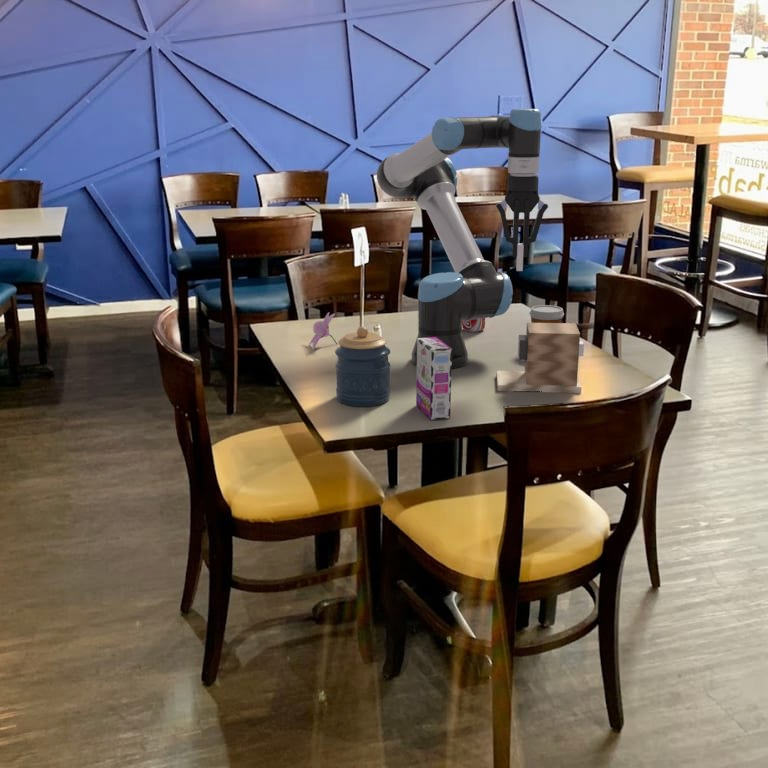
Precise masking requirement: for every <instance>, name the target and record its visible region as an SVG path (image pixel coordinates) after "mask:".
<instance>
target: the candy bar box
mask: <svg viewBox="0 0 768 768" xmlns="http://www.w3.org/2000/svg"><path fill="white" fill-rule="evenodd" d="M416 339H417V365H416V382H415V383H416V387H415V388H416V390H415V391H416V392H415V394H416V401H415V403H416V404H415V405H416V407H417V408H418V409H419V410H420V411H422V412H423V414H424V415H425V416H427V417H428V418H429V420H430V421H439V420H448V419H451V399H452V398H451V396H452V394H451V393H452V369H453V368H452V348H450V347H449V346H447V345H446V344H445V343H443V342H442V341H441V340H439V339H438V338H437V337H426V338H417V337H416Z"/></svg>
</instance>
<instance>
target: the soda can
mask: <svg viewBox="0 0 768 768" xmlns="http://www.w3.org/2000/svg"><path fill="white" fill-rule="evenodd" d="M485 327H486V318H481V319H474V320H466V321H462V330H465V331H466V332H468V331H469V333H479V331H480V332H482V331H483V330H485Z"/></svg>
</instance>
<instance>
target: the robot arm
mask: <svg viewBox="0 0 768 768" xmlns="http://www.w3.org/2000/svg"><path fill="white" fill-rule="evenodd" d="M542 128H543V127H542V113H541V110H539V109H538V108H513V109H511V110H510V112H509V116H503V115H489V116H488V115H487V116H470V117H468V116H466V117H465V116H464V117H463V116H462V117H461V116H459V117H458V116H457V117H455V116H448V117H443V118H439V119H437V120H435V122H434V125H433V126H432V128H431V129H432V130H431V132H430V133H428V134H427V135H426V136H425V137H423V138H421V139H419V140H418V141H416V142H415V143H413V144H412V145H411V146H408V148H405V150H403V151H401V152H396V153H395V152H394V153H392V154H389V156H387V157H386V158H384V159H383V160H382V161H381V162H380V164H379V165H378V167H377V170H376V179H377V180H376V181H377V184H378V186H379V187H380V189H381V190H382V192H384V193H385V195H388V196H390V197H392V198H396V199H415V201H416V203H417V206H418V207H419V208H420V209H421V210H426V213H427V215H428V216H429V219H430V221H431V223H432V225H433V227H434V229H435V231H436V233H437V237H438V238H439V240H440V242H441V245H442V247H443V249H444V252H445V253H446V256H447V258H448V260H449V262H450V264H451V266H452V268H453V271H447V272H437V273H433V274H430V275H427V276H425V277H423V278H422V279H421V280H420V282H419V285H418V293H417V299H418V302H417V303H418V308H417V309H418V315H417V316H418V317H417V319H418V325H417V327H418V329H417V330H418V331H417V332H418V333H417V336H416V340H415V342H414V345H413V348H412V352H411V363H412V364H413V365H415V366H417V338H426V337H437V338H438V339H439V340H441V341H442V342H443V343H445V344H446V345H447V346H449V347H450V348H452V369H456V368H461V367H464V366H466V365H467V364H468V362H469V355H468V349H467V346H466V342H465V341H464V336H463V328H462V321H466V320H474V319H481V318H485V319H486V318H487V319H488V318H494V317H499V316H502V315H503V314H505V313H507V311H508V310H509V308H510V307H511V304H512V301H513V294H514V292H513V291H514V290H513V284H512V281H511V279H510V277H509V275H508V274H507V273H504V272H502V271H499V272H497V271H496V269H495V267H494V265H493V263H492V262H491V261H489V260H485V259H484V257H483V255H482V252H481V250H480V248H479V246H478V244H477V243H476V240H475V237H474V236H473V233H472V232H471V230H470V228H469V225H468V223H467V222H466V220H465V217H464V215H463V213H462V212H461V209H460V207H459V205H458V202H457V201H456V199H455V197H454V196H455V194H456V188H457V186H458V177H457V174H458V173H457V172H458V171H457V170H456V167H455V165H454V163H453V162H452V160H451V159H449V157H451V156H453V155H455V154H457V153H458V152H460V151H461V150H470V149H471V150H472V149H475V150H476V149H491V148H492V149H496V148H503V149H504V148H505V149H508V153H507V154H508V155H507V156H508V157H507V159H508V160H507V164H508V165H507V173H509V175H508V176H507V182H506V184H507V186H506V187H507V188H506V194H505V196H504V199H503V200H501V201H499V202H497V203H496V209H497V211H498V212H499V213H500V218H501V223H502V228H503V232H504V237H505V242H507V243H510V244H512V252H511V255H512V257H513V258H516V265H515V269H516V272H523V269H524V258H528V256H529V255H528V254H529V244H532V243H536V241H537V237H538V234H539V230H540V227H541V223H542V219H543V217H544V213H545V212H546V211H547V209H548V208H549V204H548V203H546V202H544V201H543V200H542V199H541V198H540V195H539V176H538V175H537V174H539V173H540V172H539V171H540V153H541V152H540V151H541V135H542V134H541V133H542ZM506 205H507V206H508V208H510V210H511V211H512V213H513V223H512V236H511V234H510V233H511V232H510V230H509V224H508V219H507V214H506V211H505V210H506V209H507V206H506ZM536 206H537V210H538V211H537V214H536V217H535V220H534V224H533V227H532V231H531V233H530V213H531V212H532V211H534V208H535V207H536ZM522 213H523V232H522V235H523V237H522V242H521V243H520V242H519V229H520V227H519V224H520V214H522ZM530 234H531V235H530ZM529 235H530V237H529Z"/></svg>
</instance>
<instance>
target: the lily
mask: <svg viewBox="0 0 768 768" xmlns="http://www.w3.org/2000/svg"><path fill="white" fill-rule="evenodd" d="M335 315H336V313H332V314H330V311H329V312H327V313H326V315H325V316H324V319H323V321H322V320H318V321H316V322H314V324H313V327H312V328H313V329H312V330H313V333H314V335H313V337H312V338H311V340H310V343H309V344H310V345H311V344H312V351H314V350H315V348H316V346H317V344H318V343H319V341H320V340H321V339H322V338H326V337H329V336H330V338H332V340H333V341H334V343H335V345H338V342H337V341H336V339H335V338H334V337H333V336H332V335H331V334H330V328H329V327H330V326H329V325H330V322H331V321H332V319H333V318H334V317H335Z"/></svg>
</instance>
